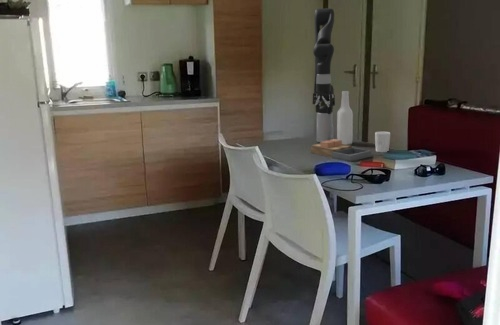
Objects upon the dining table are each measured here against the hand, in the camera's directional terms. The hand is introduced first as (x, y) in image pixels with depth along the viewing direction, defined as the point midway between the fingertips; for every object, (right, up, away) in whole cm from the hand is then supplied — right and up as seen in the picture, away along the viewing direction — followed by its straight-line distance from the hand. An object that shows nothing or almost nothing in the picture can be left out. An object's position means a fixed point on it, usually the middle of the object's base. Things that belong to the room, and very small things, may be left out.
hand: (323, 113), depth 276 cm
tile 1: (+1, -18, -6) cm, 19 cm away
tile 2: (+6, -17, -2) cm, 18 cm away
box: (+12, -24, -14) cm, 30 cm away
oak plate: (+4, -21, -3) cm, 22 cm away
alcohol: (+15, -16, +21) cm, 30 cm away
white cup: (+31, -21, -2) cm, 37 cm away
